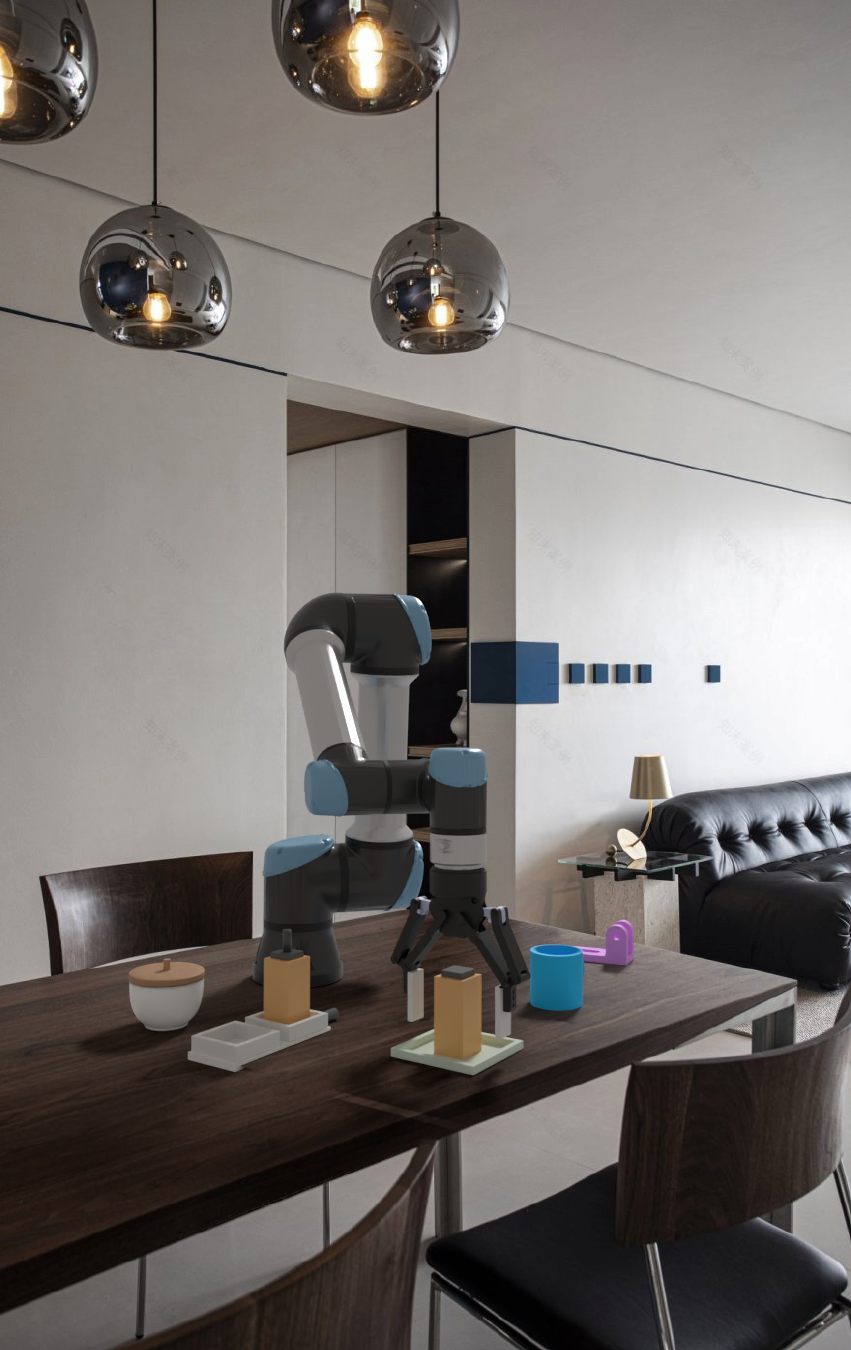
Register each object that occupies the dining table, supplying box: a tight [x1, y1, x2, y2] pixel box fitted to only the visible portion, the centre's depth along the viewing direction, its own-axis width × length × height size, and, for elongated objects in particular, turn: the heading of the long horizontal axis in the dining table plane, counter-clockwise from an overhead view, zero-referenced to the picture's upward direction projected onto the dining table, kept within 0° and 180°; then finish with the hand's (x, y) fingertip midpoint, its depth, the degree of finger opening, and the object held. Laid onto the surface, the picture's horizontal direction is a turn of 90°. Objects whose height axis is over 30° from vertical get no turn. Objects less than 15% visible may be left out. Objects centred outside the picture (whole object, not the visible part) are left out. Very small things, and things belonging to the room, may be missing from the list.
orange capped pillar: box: [433, 964, 483, 1060], centre depth 144 cm, size 4×4×11 cm
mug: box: [529, 943, 585, 1012], centre depth 171 cm, size 12×8×8 cm
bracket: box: [573, 919, 635, 966], centre depth 199 cm, size 13×6×7 cm, turn 66°
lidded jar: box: [127, 958, 206, 1032], centre depth 158 cm, size 11×11×9 cm
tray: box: [390, 1028, 524, 1076], centre depth 144 cm, size 13×13×2 cm
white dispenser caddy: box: [187, 929, 340, 1073], centre depth 151 cm, size 25×8×15 cm, turn 146°
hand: (458, 1027), depth 144 cm, fingers open, 13 cm apart
